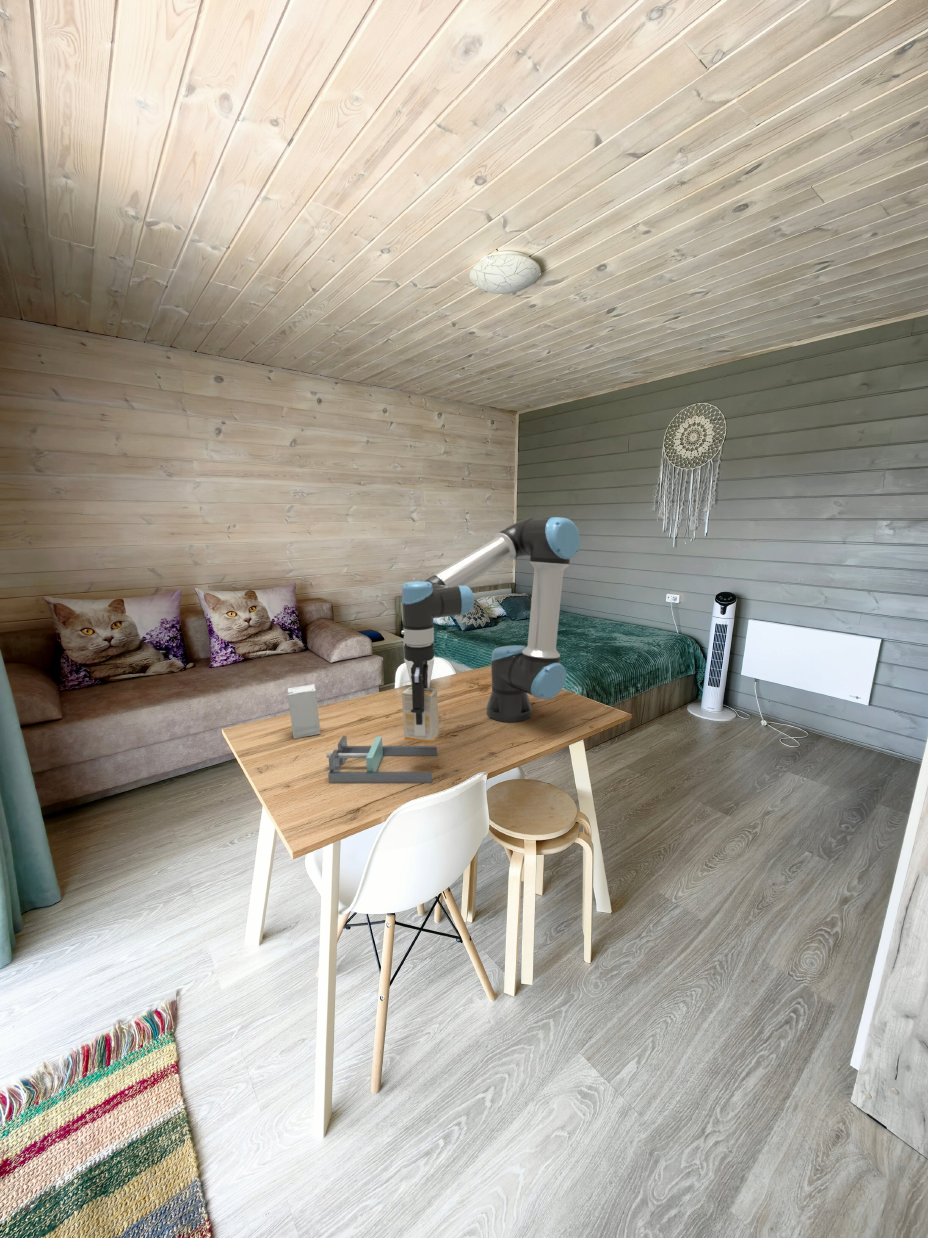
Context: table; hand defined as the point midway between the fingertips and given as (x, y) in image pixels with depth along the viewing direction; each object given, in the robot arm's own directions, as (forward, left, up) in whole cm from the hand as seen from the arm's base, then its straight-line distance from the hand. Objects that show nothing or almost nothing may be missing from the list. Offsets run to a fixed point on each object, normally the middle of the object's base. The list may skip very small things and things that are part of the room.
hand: (421, 729), depth 125 cm
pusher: (+19, 0, -10) cm, 21 cm away
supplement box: (0, 0, -3) cm, 3 cm away
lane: (+10, 0, -11) cm, 15 cm away
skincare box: (+39, -21, -11) cm, 46 cm away
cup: (+8, -62, -11) cm, 64 cm away
